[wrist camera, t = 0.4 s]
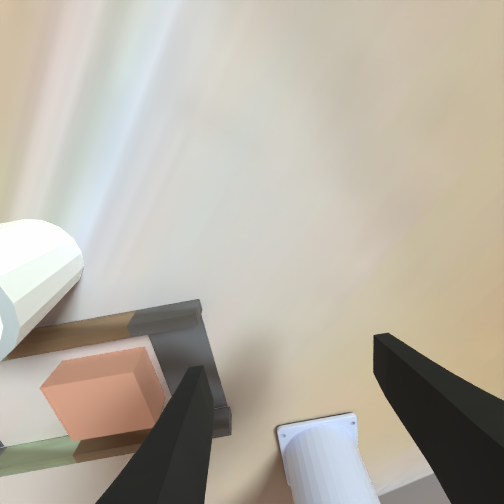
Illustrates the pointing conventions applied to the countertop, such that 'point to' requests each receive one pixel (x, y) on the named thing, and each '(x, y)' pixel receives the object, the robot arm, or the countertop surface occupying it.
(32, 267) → the shot glass
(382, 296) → the countertop surface
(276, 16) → the countertop surface
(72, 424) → the brick block
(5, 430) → the countertop surface
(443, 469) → the robot arm
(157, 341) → the channel
